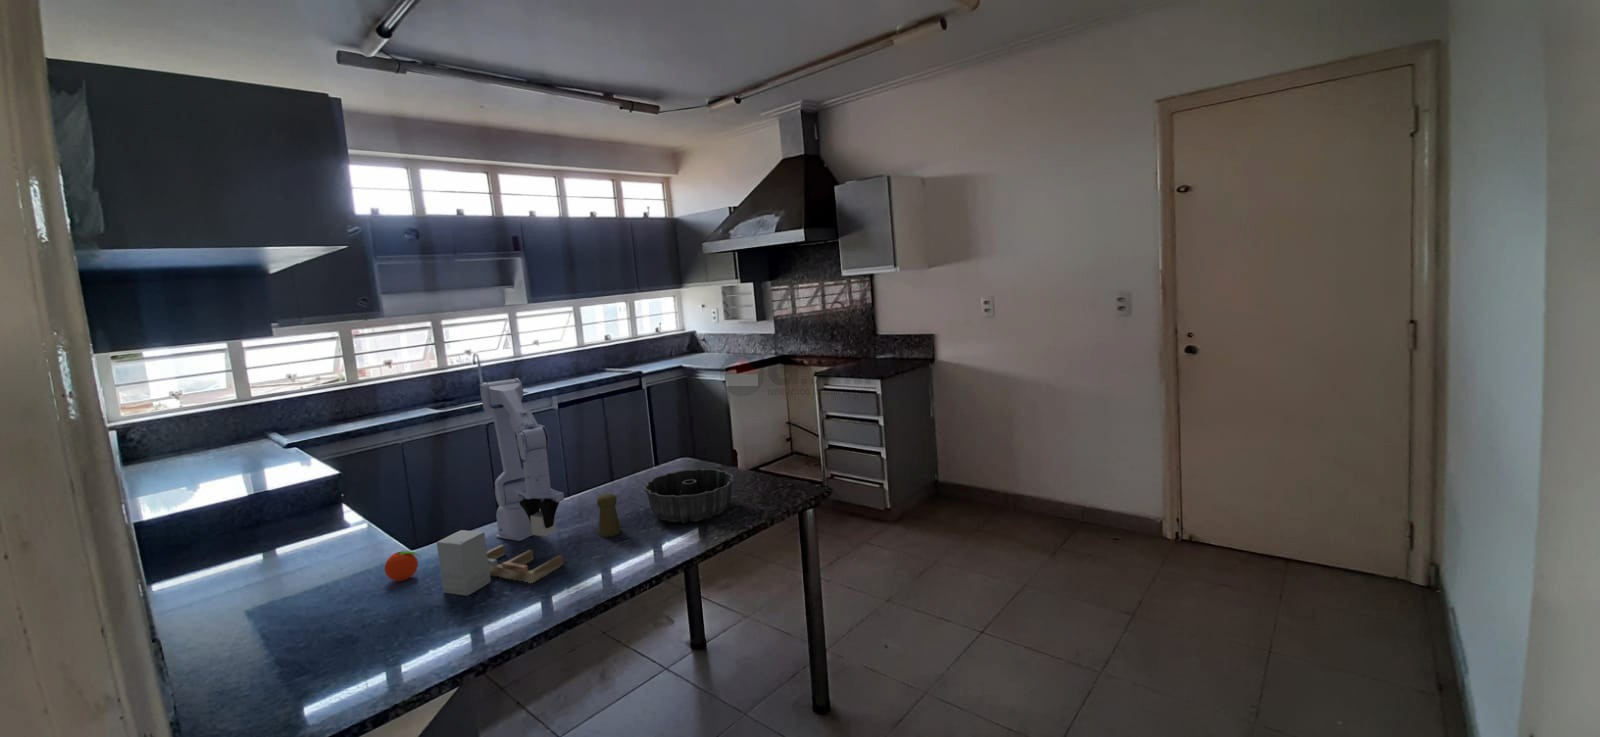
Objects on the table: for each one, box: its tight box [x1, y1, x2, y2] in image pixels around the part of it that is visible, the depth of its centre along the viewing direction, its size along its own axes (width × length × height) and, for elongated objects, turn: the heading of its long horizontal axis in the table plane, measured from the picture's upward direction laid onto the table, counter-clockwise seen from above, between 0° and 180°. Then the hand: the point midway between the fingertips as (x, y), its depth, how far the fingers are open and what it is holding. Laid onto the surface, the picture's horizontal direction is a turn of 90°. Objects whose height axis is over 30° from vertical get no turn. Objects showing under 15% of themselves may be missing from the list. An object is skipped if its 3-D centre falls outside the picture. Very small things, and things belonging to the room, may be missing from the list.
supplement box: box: [436, 529, 491, 597], centre depth 151 cm, size 7×7×13 cm
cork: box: [596, 493, 622, 538], centre depth 180 cm, size 6×6×11 cm
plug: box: [530, 510, 557, 537], centre depth 165 cm, size 4×4×6 cm
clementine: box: [384, 550, 422, 582], centre depth 157 cm, size 8×7×7 cm
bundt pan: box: [643, 468, 734, 524], centre depth 192 cm, size 26×26×10 cm
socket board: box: [487, 544, 564, 584], centre depth 160 cm, size 21×10×4 cm, turn 66°
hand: (542, 525), depth 165 cm, fingers closed on plug, 4 cm apart
